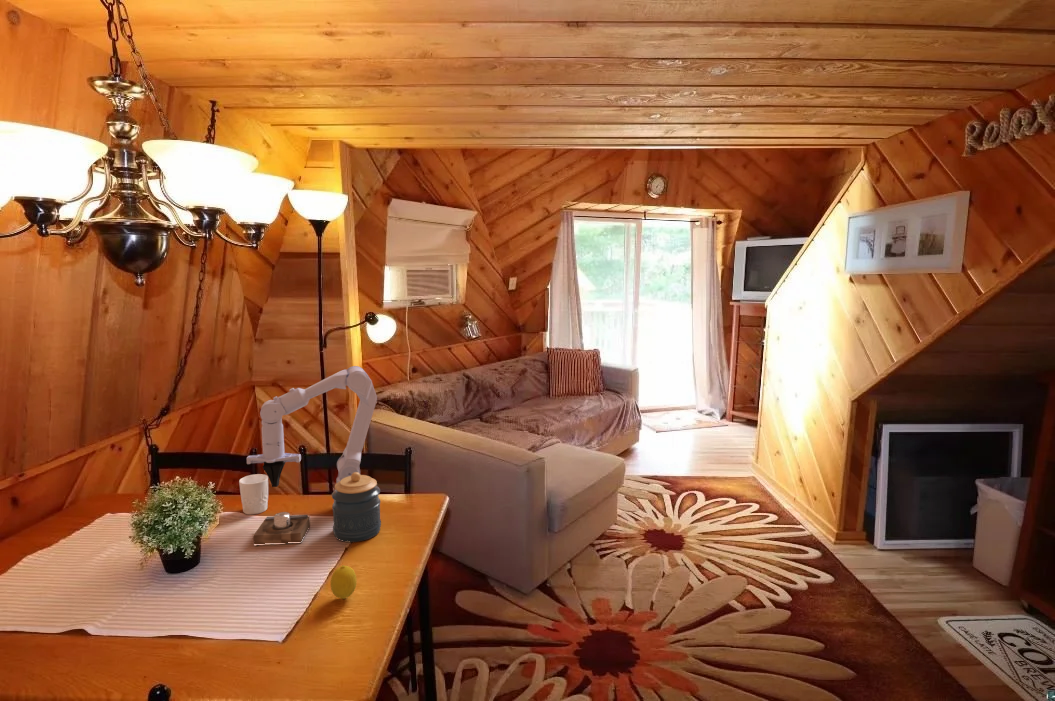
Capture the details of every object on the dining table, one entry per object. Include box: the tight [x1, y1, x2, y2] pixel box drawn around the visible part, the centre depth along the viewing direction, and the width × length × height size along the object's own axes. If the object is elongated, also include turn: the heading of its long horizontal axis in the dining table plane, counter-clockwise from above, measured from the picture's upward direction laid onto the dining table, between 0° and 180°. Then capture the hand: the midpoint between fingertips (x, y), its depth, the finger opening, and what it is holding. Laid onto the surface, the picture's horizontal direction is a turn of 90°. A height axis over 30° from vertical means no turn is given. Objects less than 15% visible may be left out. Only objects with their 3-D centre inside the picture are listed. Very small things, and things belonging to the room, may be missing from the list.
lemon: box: [330, 564, 357, 600], centre depth 121 cm, size 6×6×8 cm
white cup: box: [238, 473, 269, 515], centre depth 164 cm, size 8×8×10 cm
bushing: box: [273, 511, 291, 530], centre depth 149 cm, size 4×4×6 cm
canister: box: [331, 472, 382, 543], centre depth 151 cm, size 13×13×18 cm
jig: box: [252, 514, 311, 545], centre depth 149 cm, size 12×10×4 cm
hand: (275, 485), depth 159 cm, fingers closed
